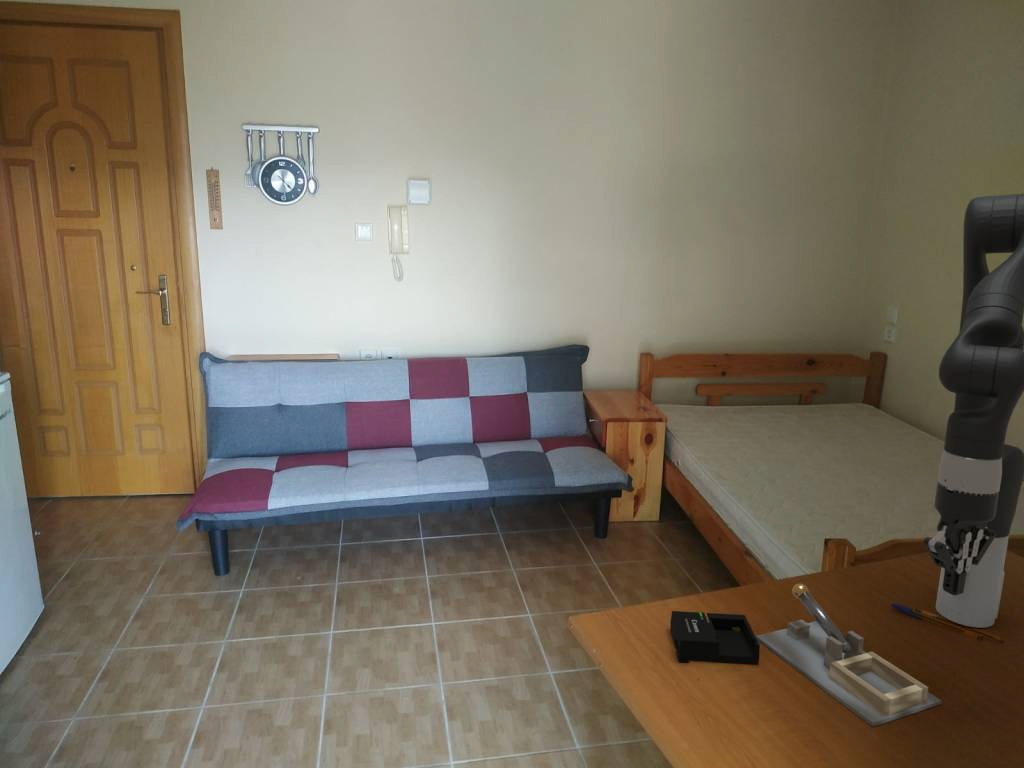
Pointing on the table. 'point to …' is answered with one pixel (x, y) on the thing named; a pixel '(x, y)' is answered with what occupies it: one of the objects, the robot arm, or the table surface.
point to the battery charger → (714, 638)
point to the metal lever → (820, 615)
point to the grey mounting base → (850, 673)
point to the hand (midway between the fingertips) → (952, 592)
